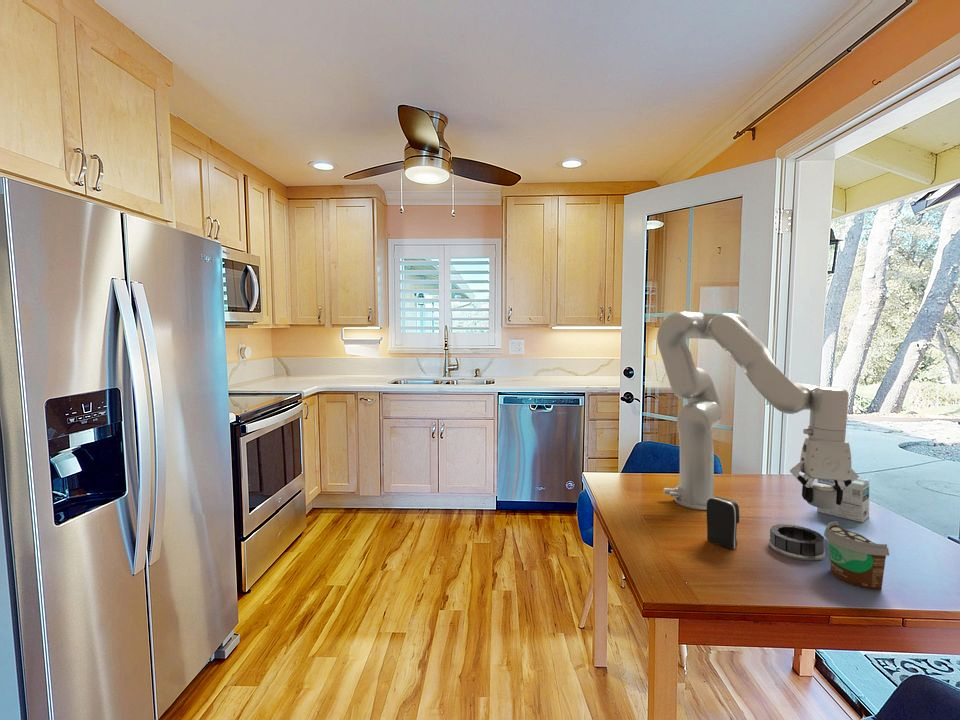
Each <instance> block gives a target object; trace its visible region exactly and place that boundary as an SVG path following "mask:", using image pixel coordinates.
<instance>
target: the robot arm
mask: <svg viewBox="0 0 960 720" xmlns="http://www.w3.org/2000/svg"><path fill="white" fill-rule="evenodd" d="M687 339H688V340H689V339H699V340H701V339H702V340H709V341H711V340H713V341H715V342H716V344H717V345H719V346H720V347H721V348H722V349H723V350H724V351H725V352H726V353H727V354H728V355H729V356H730V358H732V359H733V360H734V362H736V363H737V365H738V366H740V368H741V370H742V371H743V373H744V375H746V377H747V379H748V381H749V382H750V383H751V384H752V385H753V387H754V388H755V389H756V390H757V391H758V392H759V394H760V395H761V396H763V398H764V399H765V400H766V401H767V402H768V403H769V404H770V405H771V406H772V407H773V408H775V409H776V410H777V411H779V412H781V413H783V414H790V415H794V414H797V413H799V412H803V411H810V412H809V425H808V427H807V428H803V429H802V432H803V434H804V435H807V436H806V437H805V439H804V441H803V443H802V444H803V445H802V448H801V452H800V459H799V462H798V463H797V464H796V465H794V466H793V467H792V468H790V469H789V473H790V474H792V475H793V476H794V478H795V479H797V481H798V482H800V484H801V485H802V486H801V497H802V498H803V500H805V502H808V503H811V502H812V496H813V488H811V485H812V484H813V483H814V481H815V479H816V480H818V479H825V480H833V482H834V484H835V485H834V486H833V488H834V489H836V490H837V499H836V504H837V505H841V501H842V498H843V490H845V489H846V487H847V486H849V485H850V484H851V483H852V482H853V481H855V480H856V479H857V478H859V475H858V474H857V472H855V470H854V469H853V468H852V452H851V446H850V442H849V441H847V440H846V435H847V434H846V433H847V419H848V407H849V392H848V390H846V388H845V389H844V388H843V387H837V386H826V385H825V386H824V385H822V386H820V385H819V386H817V385H811V384H808V383H802V382H792V381H791V380H790V379H789V378H788V377H787V376H786V375H785V374H784V373H783V372H782V371H781V370H780V369H779V368H778V366H777V365H776V364H775V362H774V360H773V357H772V354H771V351H770V348H769V347H768V346H767V345H766V344H765V343H764V342H763V341H761V340H760V338H758V337H757V336H756V335H755V333H753V332H752V331H751V330H750V329H749V325H748V322H747V320H746V319H745V317H743V316H742V315H740V314H738V313H734V312H733V313H732V312H730V313H729V312H721V313H716V312H715V313H713V312H698V311H697V312H695V311H677V312H673V313H671V314H670V315H668V316H667V317H666V318H665V319H664V320H663V321H662V322H661V324H660V325H659V327H658V329H657V334H656V340H657V347H658V350H659V353H660V357H661V359H662V362H663V366H664V370H665V372H666V376H667V379H668V382H669V386H670V389H671V391H672V393H673V394H674V396H676V397H677V398H679V399H684V400H686V401H687V404H684V405H683V406H682V407H681V408H680V409H679V411H678V414H677V418H676V425H677V431H678V438H679V439H678V441H679V484H676V486H677V487H673V488H671V487H664V488H663V494H664V495H669V496H670V497H674V502H676V504H678V505H680V506H681V507H684V508H687V509H693V510H699V511H701V510H702V511H707V501H708V500H709V499H710V498H713V497H715V494H714V493H715V492H714V489H715V488H714V487H715V486H714V483H715V480H714V478H715V475H714V474H715V473H714V470H715V469H714V465H715V463H714V457H715V456H714V452H715V451H714V439H713V434H712V429H714V428H715V427H716V426H718V425H719V424H720V423H721V422H722V420H723V409H722V405H721V402H720V399H719V396H718V393H717V391H716V387H715V384H714V381H713V379H712V377H711V375H710V374H709V373H708V372H707V371H706V370H705V369H703V368H701V367H697V366H696V365H695V361H694V358H693V355H692V353H691V350H690V349H689V347H688V345H687V342H686V341H687ZM800 472H801V474H802V473H803V475H801V474H800ZM808 503H807V504H808Z"/></svg>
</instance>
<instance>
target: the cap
mask: <svg viewBox="0 0 960 720" xmlns="http://www.w3.org/2000/svg"><path fill="white" fill-rule="evenodd" d="M811 488H813V496H812V502H811V503H808V502H807V501H806V502H807V504H808V505H810V506H812V507H814V508H815V507H816V508H817V507H818V508H822V509H835V508H836V499H837V490H836V489H834V488H833V487H832V486H829V485H826V484H821V483H817V482H813V483H812V485H811Z"/></svg>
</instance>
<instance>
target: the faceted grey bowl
mask: <svg viewBox="0 0 960 720" xmlns="http://www.w3.org/2000/svg"><path fill="white" fill-rule="evenodd" d="M769 547H770V548H771V550H773V551H774V552H776V553H778V554H780V555H782V556H785V557H787V558H792V559H795V560H800V561H807V562H816V561H822V560H824V559H825V557H826V550H825V536H823V535H822V534H821V533H819V532H818V531H815V530H813V529H810V528H807V527H804V526H801V525H795V524H784V523H783V524H781V523H780V524H774V525H771V527H770V529H769Z"/></svg>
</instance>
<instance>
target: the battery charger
mask: <svg viewBox="0 0 960 720" xmlns="http://www.w3.org/2000/svg"><path fill="white" fill-rule="evenodd" d="M739 523H740V506H739V505H738V503H737V502H735V500H731V499H729V498H724V497H720V496H714V497H713V498H710V499H709V500H708V501H707V510H706V530H707V532H706V533H707V536H706V539H707V541H708V542H712V543H714V544H716V545H719V546H722V547H724V548H728V549H730V550H734V549H736V548H737V546H738V542H737V525H738V524H739Z"/></svg>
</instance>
